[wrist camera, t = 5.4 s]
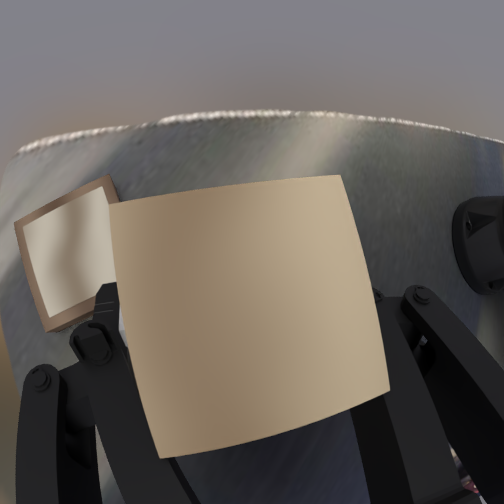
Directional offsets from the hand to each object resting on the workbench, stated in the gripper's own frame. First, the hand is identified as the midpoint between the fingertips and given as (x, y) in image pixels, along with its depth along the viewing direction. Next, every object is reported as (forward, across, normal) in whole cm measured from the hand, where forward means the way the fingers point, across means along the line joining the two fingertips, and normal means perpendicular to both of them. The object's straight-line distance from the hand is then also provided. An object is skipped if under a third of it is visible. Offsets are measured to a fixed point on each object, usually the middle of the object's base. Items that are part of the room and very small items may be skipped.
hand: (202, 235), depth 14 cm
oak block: (0, 0, -5) cm, 5 cm away
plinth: (+13, -11, -8) cm, 19 cm away
